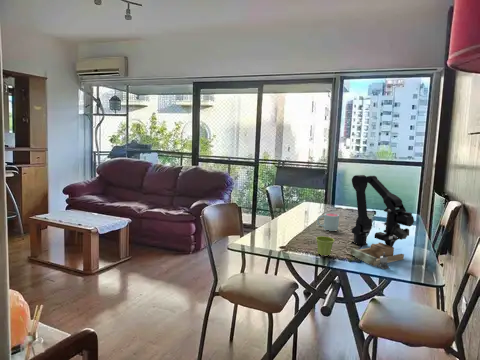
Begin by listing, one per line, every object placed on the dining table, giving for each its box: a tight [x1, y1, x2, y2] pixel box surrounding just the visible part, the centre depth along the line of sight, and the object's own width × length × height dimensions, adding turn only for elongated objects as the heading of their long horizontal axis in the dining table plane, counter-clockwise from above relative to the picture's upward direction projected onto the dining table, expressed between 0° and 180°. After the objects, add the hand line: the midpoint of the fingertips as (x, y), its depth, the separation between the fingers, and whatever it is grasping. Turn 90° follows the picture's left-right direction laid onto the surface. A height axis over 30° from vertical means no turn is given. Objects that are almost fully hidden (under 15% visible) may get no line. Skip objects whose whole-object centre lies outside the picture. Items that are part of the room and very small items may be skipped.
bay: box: [350, 247, 405, 267], centre depth 188 cm, size 15×22×4 cm
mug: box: [316, 212, 340, 232], centre depth 236 cm, size 14×9×10 cm
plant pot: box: [315, 235, 335, 256], centre depth 188 cm, size 9×9×9 cm
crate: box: [369, 242, 395, 259], centre depth 189 cm, size 8×8×6 cm
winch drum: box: [376, 253, 390, 270], centre depth 174 cm, size 4×4×7 cm
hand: (389, 250), depth 192 cm, fingers closed
